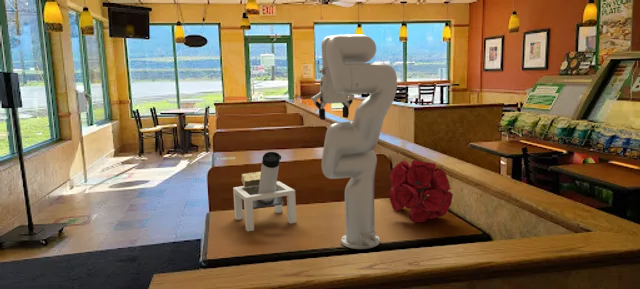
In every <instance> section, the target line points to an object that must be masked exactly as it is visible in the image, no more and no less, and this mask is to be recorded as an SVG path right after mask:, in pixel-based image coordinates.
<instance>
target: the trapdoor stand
mask: <svg viewBox="0 0 640 289" xmlns="http://www.w3.org/2000/svg"><path fill="white" fill-rule="evenodd" d="M258 186H259V185H258ZM258 186H250V187H244V185H240V186H235V187H233V188H232V190H233V191H232V193H233V207H234V208H233V209H234V218H235V220H236V221H238V220H244V224H245V231H246V232H254V231H255V220H254V209H253V201H255V200H261V199H268V198H274V197H282V198H283V197H286V207H287V208H286V209H287V210H286V212H287V222H288V223H289V224H291V225H292V224H296V223H297V222H298V221H297V205H296V204H297V202H296V200H297V199H296V190H295V188H292V187H290V186H288V185H287V184H285V183H283V182H281V181H280V180H277V183H276V187H277V189H278V191H275V192H268V193H262V194H255V195H249V194H248V193H247V192H246V191H244V190H243V189H244V188H251V187H258ZM273 207H274V208H273V209H274V213H276V214H280V213H281V214H282V213H283V205H277V206H273ZM243 208H244V214H243Z"/></svg>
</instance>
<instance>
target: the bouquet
mask: <svg viewBox="0 0 640 289" xmlns="http://www.w3.org/2000/svg"><path fill="white" fill-rule="evenodd" d="M388 176H389V179H390V180H391V185H390V186H391V187H390V189H389V191H388V197H389V202H390V204H391V207H392V209H393V211H394V212H395V213H398V212H400V211H401V210H403V209H404V208H406V209H409V219H410V221H411V222H413V223H423V222H424V223H425V222H426V221H428V219H429V220H432V219H435V218H441V217H443V216H446V214H447V213H448V211H449V210H450V207H451V205H452V202H453V196H454V194H453V193H452V191H450V190H452V188H451V184H450V182H449V178H448V176H447V174H446V172H445V171H444V170H443V169H442V168H439V167H437V165H436V163H435V162H434V163H433V162H425V161H421V160H416V159H413V160H411V161H410V164H409V162H408V161H407V160H405V159H404V160H402V161H400V162H399V163H397V164H396V165H395V166H394V167H393V168H392V169H391V171H390V173H389V175H388Z"/></svg>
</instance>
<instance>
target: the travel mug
mask: <svg viewBox="0 0 640 289" xmlns="http://www.w3.org/2000/svg"><path fill="white" fill-rule="evenodd" d="M281 160H282V155H281V154H279V153H278V152H275V151H268V152H266V153H264V154H263V155H262V160H261V167H260V168H261V169H260V172H261V175H260V183H259V191H258V194H262V193H268V192H275V190H276V183H277V181H278V176H279V175H278V174H279V169H280V161H281ZM273 200H274V198H268V199H261V200H260V201H262V202H265V203H269V202H272V201H273Z"/></svg>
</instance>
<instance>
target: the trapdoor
mask: <svg viewBox="0 0 640 289" xmlns="http://www.w3.org/2000/svg"><path fill="white" fill-rule="evenodd" d="M260 175H261V171H256V172H248V173H241V182H242V184H243V185H242V186H244V187H250V186H258V185H259V183H260ZM243 190H244V191H246V192H247V193H248V194H249V195H255V194H258V191H259V186H258V187H251V188H244V189H243ZM275 191H278V189H277V187H276V190H275ZM277 205H282V206H283V205H285V201H284V199H283V196H282V197H274V200H273V201H272V202H269V203H265V202H262V201H260V200H255V201H253V210H257V209H264V208H270V207H274V206H277Z"/></svg>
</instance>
